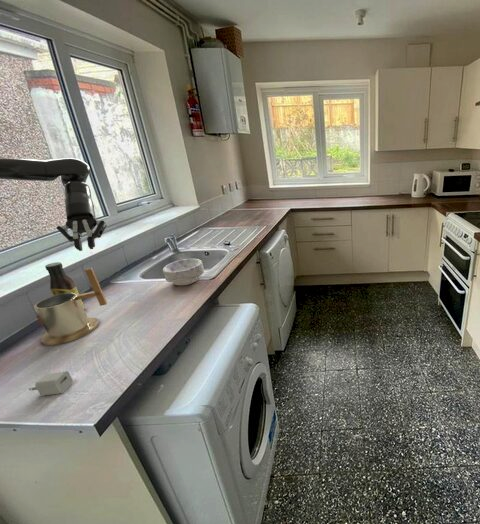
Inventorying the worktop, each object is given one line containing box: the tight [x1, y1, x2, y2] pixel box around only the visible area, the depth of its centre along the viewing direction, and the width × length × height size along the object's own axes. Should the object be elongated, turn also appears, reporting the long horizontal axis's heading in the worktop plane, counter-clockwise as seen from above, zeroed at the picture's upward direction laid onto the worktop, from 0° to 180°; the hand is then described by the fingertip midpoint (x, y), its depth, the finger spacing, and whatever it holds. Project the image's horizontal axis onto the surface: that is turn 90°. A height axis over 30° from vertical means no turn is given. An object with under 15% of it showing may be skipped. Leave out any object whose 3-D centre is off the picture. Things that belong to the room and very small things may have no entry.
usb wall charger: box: [28, 370, 74, 397], centre depth 70 cm, size 4×7×4 cm, turn 99°
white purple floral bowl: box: [162, 258, 205, 286], centre depth 126 cm, size 15×15×8 cm
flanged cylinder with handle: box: [33, 267, 108, 339], centre depth 92 cm, size 16×10×19 cm, turn 120°
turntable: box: [40, 317, 100, 346], centre depth 94 cm, size 14×14×1 cm
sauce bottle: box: [45, 261, 86, 311], centre depth 101 cm, size 6×6×20 cm
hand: (85, 248), depth 98 cm, fingers closed
